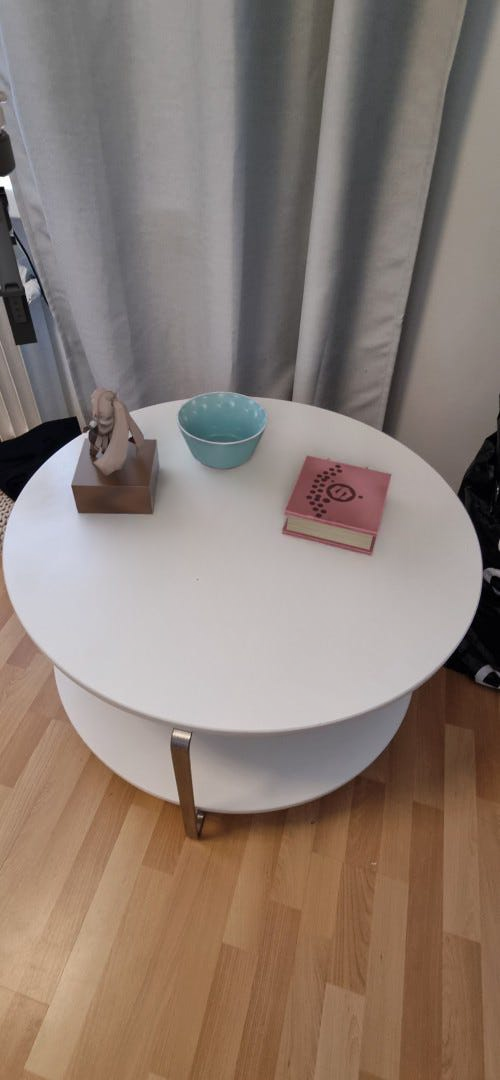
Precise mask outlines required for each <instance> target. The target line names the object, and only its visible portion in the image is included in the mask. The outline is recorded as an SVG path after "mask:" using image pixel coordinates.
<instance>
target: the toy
mask: <svg viewBox="0 0 500 1080" xmlns="http://www.w3.org/2000/svg"><path fill="white" fill-rule="evenodd" d="M119 392H120V388H117V389H116V391H115V392H114V391H112V390H111V389H107V388H105V387H104V386H102V387H98V388H96V389H95V390H94V391H93V393H92V394H91V396H90V400H91V405H92V420H90V422H89V423H88V424H87V425H85V426H84V427H83V428H82V429H81V431H82V433H83V434H87V435H88V436H87V438H89V441H90V450H89V452H90V454H89V455H90V456H91V457H92V458H94V457H95V456H96V455H97V453H98V452H99V450H100V447H102V454H104V455H103V456H102V457H101V458H99V459H98V460H96V461H95V462H93V463H94V464H95V465H96V466H97V467H98V468H99V469H100V470H101V471H102V472H103V473H104V474H105V475H106V476H108V475H109V474H111V473H112V472H114V471H115V470H119V469H122V466H123V464H124V462H125V459H126V456H127V448H128V441H129V442H131V443H134V444H136V445H137V450H136V458H137V456H138V454H139V452H140V450H141V448H142V446H143V444H144V442H145V441H144V439H145V435H144V434H143V432H142V430H141V428H140V427H139V426H138V424H137V422H136V421H135V419H134V418H133V417H132V415H131V414H130V412H129V409H128V406H127V404H126V403H125V402H124V401H123V400H120V399H118V396H117V395H118V393H119ZM129 435H130V436H129Z"/></svg>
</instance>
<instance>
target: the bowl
mask: <svg viewBox="0 0 500 1080" xmlns="http://www.w3.org/2000/svg"><path fill="white" fill-rule="evenodd" d="M175 418H176V424H177V426H178V428H179V430H180V433H181V434H182V437H183V439H184V441H185V443H186V445H187V447H188V448H189V451H190V453H191V454H192V457H194V459H195V460H196V461H198V462H199V463H201V464H202V465H204V466H207V467H209V468H211V469H218V470H228V469H232V468H236V467H239V466H241V465H243V464H245V463H246V462H248V461H249V460H250V459H251V458H252V456H254V453H255V451H256V449H257V447H258V445H259V443H260V441H261V439H262V437H263V436H264V434H265V433H264V432H265V431H266V428H267V426H268V424H269V423H268V422H269V414H268V412H267V409H266V408H265V407H264V406H263V405H262V404H261V403H260V402H259V401H258V400H256V399H254V398H252V397H250V396H248V395H245V394H241V393H237V392H233V391H232V392H231V391H211V392H205V393H202V394H199V395H196V396H193V397H190V398H189V399H188V400H186V401H185V402H183V403H182V404H181V405H180V407H178V410H177V411H176V415H175Z"/></svg>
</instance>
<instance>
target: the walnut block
mask: <svg viewBox="0 0 500 1080" xmlns="http://www.w3.org/2000/svg"><path fill="white" fill-rule="evenodd" d="M144 441H145V442H144V444H143V446H142V448H141V450H140V452H139V454H138V456H137V458H136V450H137V445H136V444H134V443H131V442H129V441H128V448H127V456H126V459H125V462H124V464H123V466H122V469H119V470H115V471H114V472H112V473H111V474H109V475H108V476H106V475H105V474H104V473H103V472H102V471H101V470H100V469H99V468H98V467H97V466H96V465H95V464H94V463H93V462H95V461H96V460H98V459H99V458H101V457H102V456H103V455H104V454H102V447H100V450H99V452H98V453H97V455H96V456H95V457H94V458H92V457H91V456H90V455H89V454H90V452H89V450H90V441H89V438H88V437H84V440H83V443H82V447H81V450H80V453H79V456H78V460H77V464H76V468H75V470H74V473H73V478H72V481H71V484H70V487H71V491H72V495H73V498H74V503H75V506H76V507H75V508H76V511H77V514H95V515H96V514H97V515H98V514H101V515H102V514H104V515H110V514H111V515H153V514H154V507H155V500H156V493H157V486H158V479H159V472H160V460H159V459H160V458H159V451H158V440H157V439H153V438H144Z"/></svg>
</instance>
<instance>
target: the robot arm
mask: <svg viewBox="0 0 500 1080" xmlns="http://www.w3.org/2000/svg"><path fill="white" fill-rule="evenodd" d="M7 101H8V97H7V94H6V93H5V91H3V90H0V178H5V177H8V176H10V175H12V174H13V173H14V172H15V170H16V168H17V164H16V159H15V155H14V150H13V145H12V141H11V137H10V135H9V133H7V131H6V130H4V129H3V128H5V126H6V124H7V123H6V122H7V121H6V117H5V113H4V107H3V106H2V105H1V104H5V103H7ZM10 210H11V208H10V204H9V199H8V195H7V193H6V189H5V185H3V186H2V185H1V186H0V298H1V299H2V301H3V305H4V308H5V312H6V317H7V319H8V324H9V326H10V330H11V334H12V337H13V341H14V345H15V346H16V347H17V346H23V345H31V344H38V338H37V335H36V330H35V326H34V322H33V317H32V314H31V310H30V305H29V301H28V297H27V293H26V288H25V286H24V285H23V281H22V277H21V272H20V270H19V265H18V261H17V256H16V252H15V249H14V246H18V243H17V238H16V235H13V234H14V229H13V224H12V220H11V215H10Z"/></svg>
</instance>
